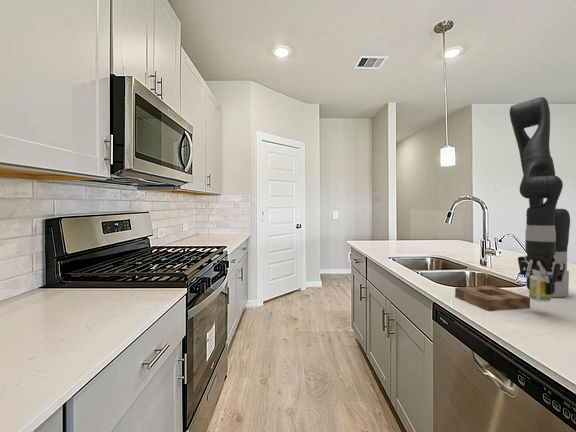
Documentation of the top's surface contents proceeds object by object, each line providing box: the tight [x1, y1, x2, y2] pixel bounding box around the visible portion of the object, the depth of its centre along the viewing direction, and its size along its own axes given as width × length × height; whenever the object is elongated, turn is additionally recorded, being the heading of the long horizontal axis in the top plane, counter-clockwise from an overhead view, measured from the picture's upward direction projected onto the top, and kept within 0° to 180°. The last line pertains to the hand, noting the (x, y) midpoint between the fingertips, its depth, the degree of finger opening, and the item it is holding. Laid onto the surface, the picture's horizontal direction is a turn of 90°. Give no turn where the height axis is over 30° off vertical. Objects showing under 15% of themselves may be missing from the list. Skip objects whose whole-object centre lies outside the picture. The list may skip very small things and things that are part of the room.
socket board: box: [454, 285, 531, 312], centre depth 114 cm, size 16×16×4 cm
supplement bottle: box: [528, 269, 552, 303], centre depth 101 cm, size 5×5×10 cm
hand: (539, 291), depth 101 cm, fingers closed on supplement bottle, 5 cm apart
